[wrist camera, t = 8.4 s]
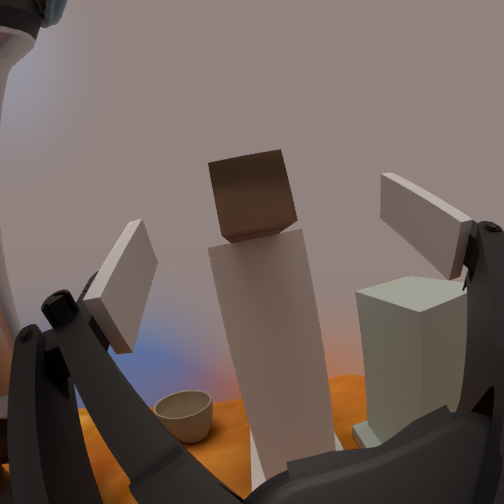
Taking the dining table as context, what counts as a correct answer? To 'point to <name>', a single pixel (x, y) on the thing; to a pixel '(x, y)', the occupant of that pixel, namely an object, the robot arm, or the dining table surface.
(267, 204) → the walnut beam
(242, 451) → the dining table surface
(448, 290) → the post
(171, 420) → the beige round bowl
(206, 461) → the dining table surface
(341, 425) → the dining table surface
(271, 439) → the tall stand
